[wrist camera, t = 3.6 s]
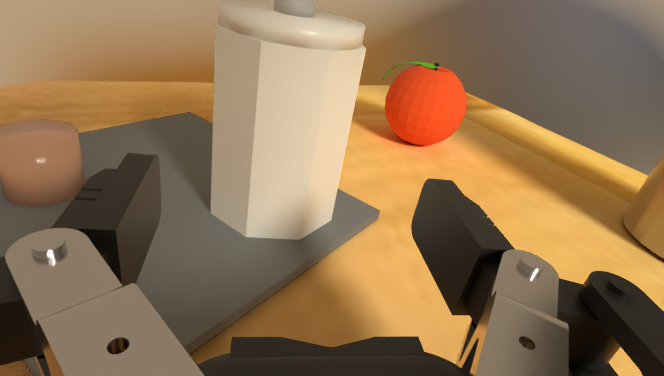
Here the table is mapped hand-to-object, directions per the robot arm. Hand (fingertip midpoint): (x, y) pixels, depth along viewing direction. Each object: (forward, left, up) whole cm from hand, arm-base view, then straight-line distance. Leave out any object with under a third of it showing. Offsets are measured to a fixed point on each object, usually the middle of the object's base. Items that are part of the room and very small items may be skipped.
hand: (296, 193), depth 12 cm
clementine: (-25, -7, -7) cm, 26 cm away
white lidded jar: (-6, -6, -6) cm, 11 cm away
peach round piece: (+2, -14, -6) cm, 16 cm away
